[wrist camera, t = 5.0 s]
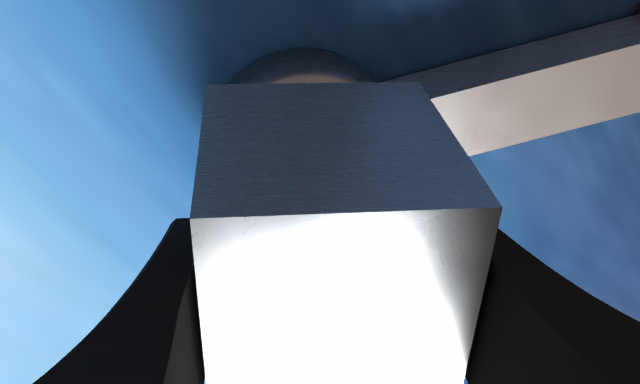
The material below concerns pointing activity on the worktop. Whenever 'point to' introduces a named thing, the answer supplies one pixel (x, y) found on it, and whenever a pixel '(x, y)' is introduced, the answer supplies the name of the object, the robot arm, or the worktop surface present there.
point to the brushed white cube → (336, 236)
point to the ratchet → (502, 83)
